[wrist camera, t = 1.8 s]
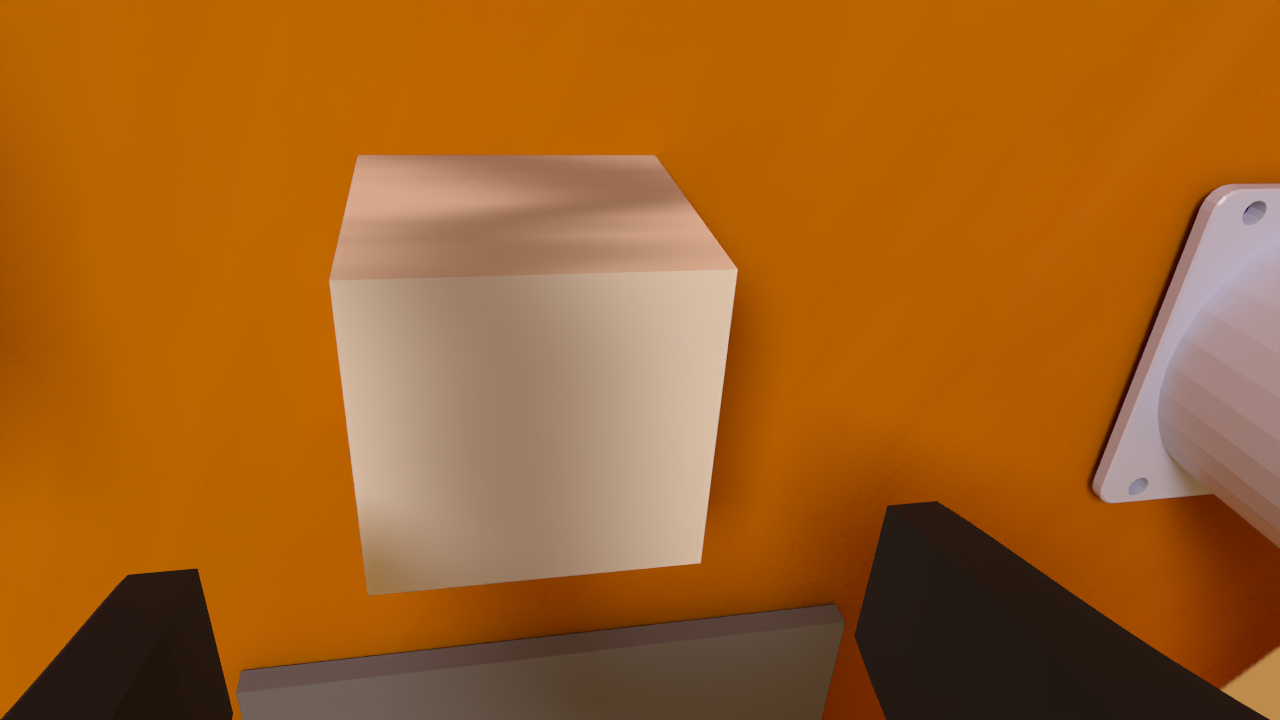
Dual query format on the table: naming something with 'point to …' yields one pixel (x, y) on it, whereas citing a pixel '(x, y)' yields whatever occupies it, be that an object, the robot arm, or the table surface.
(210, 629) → the robot arm
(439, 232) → the whitewashed cube
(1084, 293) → the table surface
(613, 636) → the charcoal mat
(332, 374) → the table surface
